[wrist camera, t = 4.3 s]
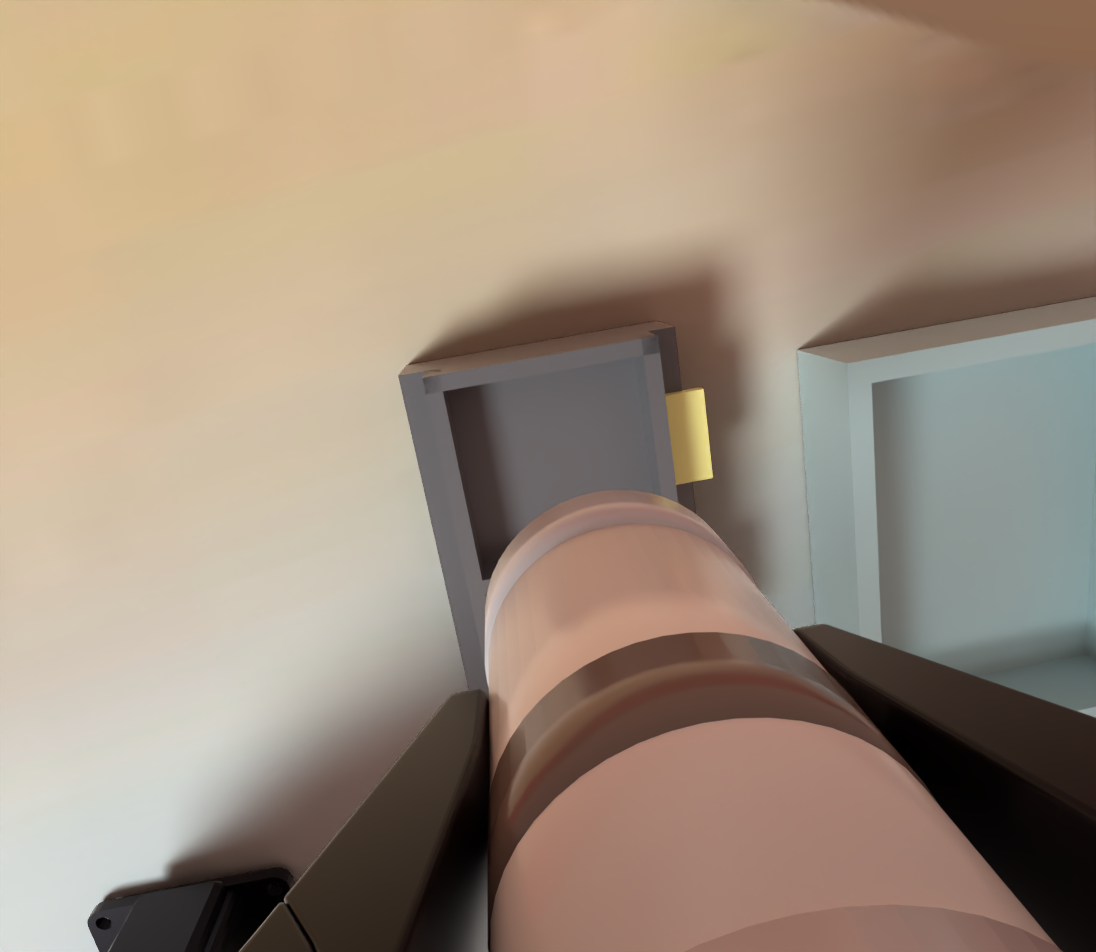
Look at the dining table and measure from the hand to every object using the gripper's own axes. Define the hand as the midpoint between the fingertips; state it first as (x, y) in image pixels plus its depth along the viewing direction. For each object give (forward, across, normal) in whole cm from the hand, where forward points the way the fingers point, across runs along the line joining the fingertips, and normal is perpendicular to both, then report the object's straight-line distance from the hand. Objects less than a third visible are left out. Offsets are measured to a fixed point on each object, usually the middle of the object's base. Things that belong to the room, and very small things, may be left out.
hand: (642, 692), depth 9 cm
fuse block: (+13, 0, +3) cm, 13 cm away
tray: (+13, -12, +5) cm, 18 cm away
